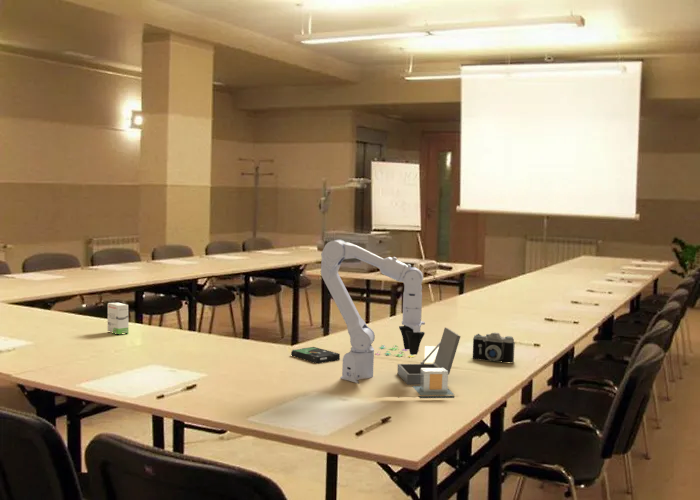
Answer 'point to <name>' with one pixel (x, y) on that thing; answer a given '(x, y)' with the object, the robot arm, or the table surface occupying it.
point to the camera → (493, 347)
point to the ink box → (118, 318)
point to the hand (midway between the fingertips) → (410, 351)
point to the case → (443, 359)
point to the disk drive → (315, 354)
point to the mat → (433, 393)
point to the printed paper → (427, 350)
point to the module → (434, 380)
